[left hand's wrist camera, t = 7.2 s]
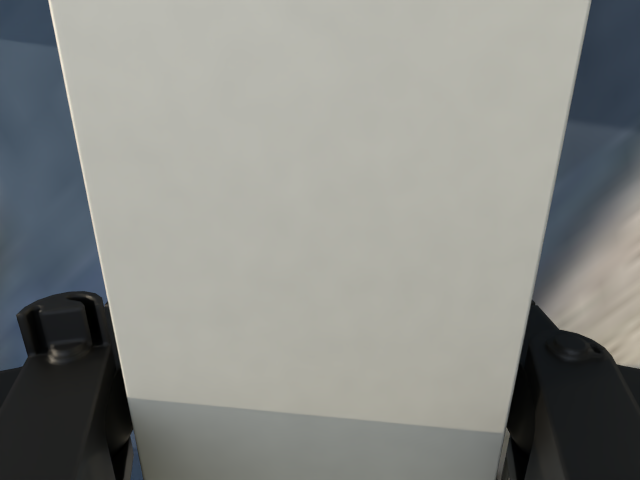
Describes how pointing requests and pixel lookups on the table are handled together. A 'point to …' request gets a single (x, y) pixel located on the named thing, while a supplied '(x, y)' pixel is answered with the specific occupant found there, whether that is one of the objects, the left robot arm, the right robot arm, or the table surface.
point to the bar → (319, 222)
